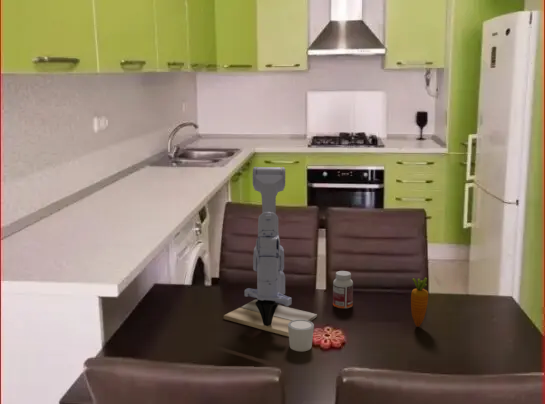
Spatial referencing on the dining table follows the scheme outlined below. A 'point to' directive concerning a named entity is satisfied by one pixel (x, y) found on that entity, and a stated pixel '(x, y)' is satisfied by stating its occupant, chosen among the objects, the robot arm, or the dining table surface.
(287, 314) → the laid plank
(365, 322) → the dining table surface
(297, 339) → the white cup
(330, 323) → the dining table surface
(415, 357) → the dining table surface
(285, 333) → the oak plank
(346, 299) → the pill bottle
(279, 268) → the robot arm
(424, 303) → the carrot
